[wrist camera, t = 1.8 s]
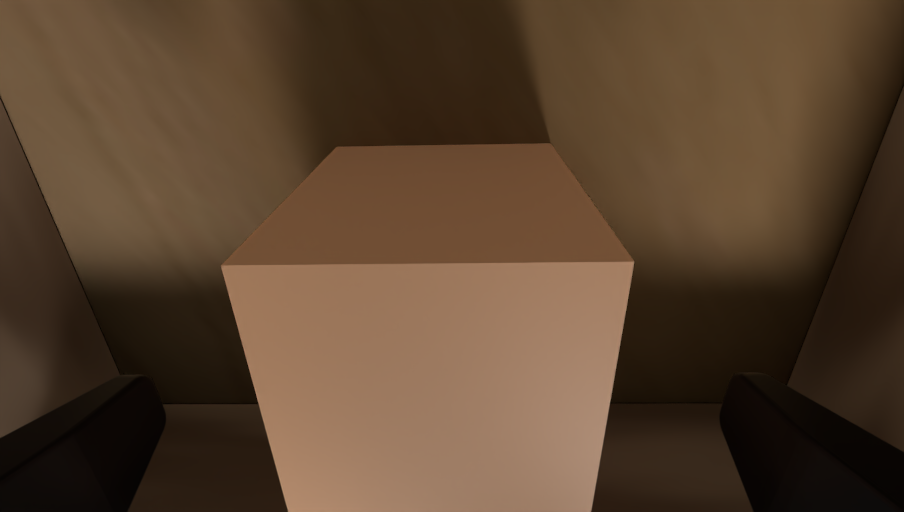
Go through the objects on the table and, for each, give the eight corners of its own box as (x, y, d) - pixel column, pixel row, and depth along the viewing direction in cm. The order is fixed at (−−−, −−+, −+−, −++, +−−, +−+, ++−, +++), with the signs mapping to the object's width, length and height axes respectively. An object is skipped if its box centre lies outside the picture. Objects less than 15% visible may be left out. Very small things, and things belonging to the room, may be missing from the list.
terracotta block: (537, 320, 13) (588, 527, 8) (360, 321, 13) (291, 525, 8) (550, 142, 11) (634, 261, 6) (336, 146, 11) (221, 265, 6)
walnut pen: (814, 438, 15) (943, 593, 11) (103, 438, 16) (-23, 585, 12) (1114, -221, 8) (1778, -465, 4) (-200, -174, 9) (-785, -344, 5)
